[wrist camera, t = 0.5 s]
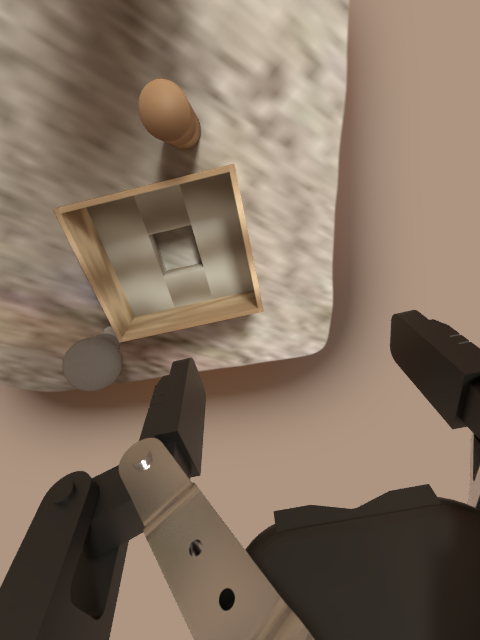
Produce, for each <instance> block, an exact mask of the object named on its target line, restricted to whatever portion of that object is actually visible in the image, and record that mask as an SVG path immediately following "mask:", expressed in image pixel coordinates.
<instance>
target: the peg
mask: <svg viewBox="0 0 480 640" xmlns="http://www.w3.org/2000/svg"><path fill="white" fill-rule="evenodd" d="M138 107H139V114H140V118H141V121H142V123H143V125H144V126H145V128H146V129H147V131H148V132H149V133H150V134H151V135H153V136H154V137H156V138H158V139H160V140H162V141H164V142H167V143H169V144H171V145H173V146H176V147H178V148H181V149H189V148H192V147H193V146H195V145H196V144H197V142H198V140H199V138H200V134H201V127H200V123H199V120H198V118H197V116H196V114H195V113H194V111H193V109H192V107H191V105H190V103H189V102H188V100H187V98H186V96H185V94H184V93H183V91H182V90H181V89H180V88H179V86H177V85H176V84H175V83H173V82H172V81H170V80H167V79H155V80H152V81H151V82H149V83H148V84H147V85H146V86H145V87H144V88H143V90H142V92H141V94H140V97H139V104H138Z"/></svg>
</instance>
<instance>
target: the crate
mask: <svg viewBox="0 0 480 640" xmlns="http://www.w3.org/2000/svg"><path fill="white" fill-rule="evenodd" d="M53 211H54V213H55V215H56V217H57V219H58V221H59V223H60V225H61V227H62V229H63V231H64V233H65V235H66V237H67V239H68V241H69V243H70V245H71V247H72V249H73V251H74V253H75V255H76V257H77V259H78V261H79V263H80V265H81V267H82V269H83V271H84V273H85V275H86V277H87V279H88V280H89V282H90V284H91V286H92V288H93V290H94V292H95V294H96V296H97V298H98V300H99V302H100V304H101V306H102V308H103V310H104V312H105V314H106V316H107V318H108V320H109V322H110V324H111V326H112V328H113V330H114V332H115V334H116V336H117V338H118V340H119V342H124V341H129V340H134V339H138V338H143V337H148V336H152V335H157V334H162V333H166V332H171V331H175V330H180V329H185V328H189V327H194V326H199V325H203V324H208V323H212V322H217V321H222V320H226V319H231V318H236V317H240V316H245V315H250V314H254V313H259V312H263V306H262V301H261V296H260V291H259V286H258V280H257V275H256V270H255V265H254V260H253V255H252V250H251V245H250V240H249V235H248V230H247V225H246V220H245V215H244V210H243V205H242V200H241V195H240V190H239V185H238V180H237V175H236V170H235V165H234V164H231V165H227V166H223V167H219V168H215V169H210V170H206V171H202V172H198V173H194V174H190V175H186V176H182V177H178V178H174V179H170V180H166V181H162V182H158V183H154V184H150V185H146V186H142V187H138V188H134V189H130V190H126V191H122V192H118V193H114V194H110V195H106V196H102V197H98V198H94V199H90V200H86V201H82V202H78V203H74V204H70V205H66V206H62V207H58V208H54V209H53ZM189 225H191V226H192V229H193V233H194V236H195V240H196V243H197V247H198V250H199V253H200V257H201V260H202V263H200V264H195V265H191V266H187V267H182V268H178V269H174V270H169V271H166V268H165V265H164V263H163V260H162V257H161V254H160V251H159V249H158V246H157V243H156V240H155V237H154V235H153V234H156V233H160V232H164V231H168V230H173V229H177V228H181V227H185V226H189Z"/></svg>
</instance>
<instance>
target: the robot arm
mask: <svg viewBox="0 0 480 640" xmlns="http://www.w3.org/2000/svg"><path fill="white" fill-rule="evenodd" d="M390 350H391V354H392V357H393V359H394V360H395V362H396V363H397V364H398V366H399V367H400V368H401V369H402V370H403V371H404V373H405V374H406V375H407V376H408V377H409V378H410V380H411V381H412V382H413V383H414V384H415V385H416V387H417V388H418V389H419V390H420V391H421V393H422V394H423V395H424V396H425V397H426V398H427V400H428V401H429V402H430V403H431V404H432V406H433V407H434V408H435V409H436V410H437V411H438V413H439V414H440V415H441V416H442V417H443V419H444V420H445V421H446V422H447V423H448V424H449V426H450V427H451V428H452V429H456V428H462V427H467V426H468V428H469V429H470V430H471V431H472V435H471V452H470V490H469V498H468V503H467V504H465V503H462V502H458V501H455V500H451V499H446V498H441V497H437V496H436V494H435V493H434V491H433V490H432V488H431V487H430V485H429V484H427V485H421V486H415V487H409V488H404V489H398V490H392V491H389V492H387V493H385V494H383V495H381V496H379V497H377V498H375V499H373V500H371V501H369V502H368V503H366V504H364V505H362V506H360V507H358V508H355V509H346V508H336V507H326V506H316V505H307V506H302V507H296V508H290V509H284V510H279V511H274V517H275V524H274V525H272V526H270V527H268V528H267V529H266V530H264V531H263V532H261V533H260V534H259V535H258V536H257V537H256V538H255V539H254V540H253V541H252V542H251V543H250V544H249V546H248V547H247V548H246V550H245V549H244V548H243V546H242V545H241V544H240V542H239V541H238V540H237V538H236V537H235V536H234V534H233V533H232V532H231V530H230V529H229V528H228V526H227V525H226V524H225V522H224V521H223V520H222V518H221V517H220V516H219V515H218V513H217V512H216V511H215V509H214V508H213V507H212V505H211V504H210V503H209V501H208V500H207V499H206V497H205V496H204V495H203V493H202V492H201V491H200V490H199V488H198V487H197V486H196V484H195V483H192V482H191V481H190V477H195V476H200V473H201V459H202V445H203V431H204V417H205V404H206V403H205V402H206V396H205V389H204V386H203V383H202V381H201V378H200V375H199V373H198V370H197V367H196V365H195V362H194V360H193V359H192V358H187V359H183V360H178V361H174V362H173V363H172V367H171V371H170V375H167V376H163V377H162V378H161V380H160V381H159V382H158V384H157V385H156V386H155V389H154V392H153V396H152V400H151V402H150V408H149V409H148V413H147V416H146V419H145V423H144V426H143V430H142V433H141V436H140V439H139V441H138V442H137V443H135V444H134V445H133V446H131V447H130V448H129V449H128V450H127V451H126V452H125V454H124V455H123V457H122V459H121V461H120V464H119V465H118V466H116V467H114V468H112V469H110V470H108V471H106V472H104V473H102V474H100V475H98V476H96V477H94V478H91V477H90V476H89V474H87V473H86V472H84V471H77V472H73V473H70V474H68V475H66V476H65V477H63V478H62V479H60V480H59V481H58V482H56V483H55V484H54V485H53V486H52V487H51V488H50V490H49V491H48V492H47V493H46V495H45V496H44V498H43V500H42V502H41V504H40V506H39V508H38V510H37V512H36V514H35V517H34V519H33V521H32V523H31V525H30V527H29V529H28V531H27V533H26V535H25V538H24V539H23V541H22V544H21V546H20V548H19V550H18V552H17V554H16V556H15V558H14V560H13V562H12V564H11V566H10V569H9V571H8V573H7V575H6V577H5V579H4V581H3V583H2V586H1V587H0V640H109V637H110V632H111V627H112V622H113V617H114V612H115V607H116V602H117V597H118V592H119V587H120V582H121V577H122V572H123V566H124V562H125V557H126V552H127V546H128V542H129V540H130V539H132V538H134V537H135V536H137V535H139V534H141V533H143V532H144V534H145V536H146V538H147V541H148V543H149V545H150V547H151V549H152V551H153V553H154V556H155V558H156V560H157V562H158V564H159V566H160V568H161V571H162V573H163V575H164V577H165V579H166V581H167V583H168V585H169V588H170V590H171V591H172V594H173V596H174V598H175V600H176V602H177V604H178V606H179V609H180V611H181V613H182V615H183V617H184V619H185V621H186V623H187V626H188V628H189V630H190V632H191V634H192V636H193V638H194V640H480V348H478V347H477V346H476V345H474V344H473V343H472V342H469V340H468V339H466V338H465V337H464V336H462V335H459V333H458V332H457V331H455V330H454V329H453V328H451V327H450V326H449V325H447V324H444V323H441V322H439V321H436V320H433V319H432V320H428V319H427V318H426V317H425V316H423V315H422V314H421V313H419V312H418V311H417V310H411V311H407V312H402V313H398V314H394V315H393V316H392V319H391V338H390Z"/></svg>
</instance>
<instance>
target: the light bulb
mask: <svg viewBox="0 0 480 640" xmlns="http://www.w3.org/2000/svg"><path fill="white" fill-rule="evenodd" d="M120 343H121V342H119V340H118V338H117V336H116V334H115V332H114V330H113V328H112V326H108V327H106V328H105V329H104V330H103V332H102V333H101V334H99V335H97V336H96V337H93V338H87V339H83V340H81V341H79V342H77V343H76V344H74V345H73V346H72V347H71V348H70V349H69V350H68V351H67V352H66V354H65V356H64V359H63V373H64V376H65V378H66V379H67V381H68V382H69V383H70V384H71V385H72V386H74V387H75V388H77V389H80V390H83V391H97V390H101V389H103V388H105V387H107V386H109V385H110V384H112V383H113V382H114V381H115V380H116V379H117V377H118V376H119V374H120V371H121V368H122V357H121V354H120V351H119V349H120Z"/></svg>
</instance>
